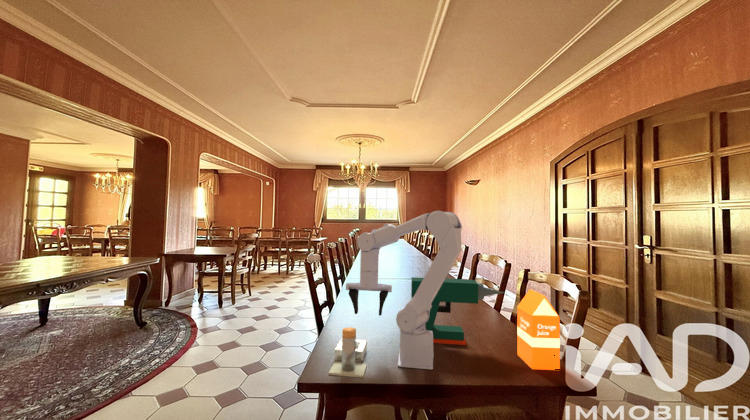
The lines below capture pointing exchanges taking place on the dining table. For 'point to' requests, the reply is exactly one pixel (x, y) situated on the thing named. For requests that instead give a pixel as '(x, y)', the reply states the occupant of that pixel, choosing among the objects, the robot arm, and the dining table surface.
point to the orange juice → (538, 332)
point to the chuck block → (359, 354)
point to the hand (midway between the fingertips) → (368, 313)
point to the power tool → (450, 293)
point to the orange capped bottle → (348, 349)
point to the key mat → (357, 372)
